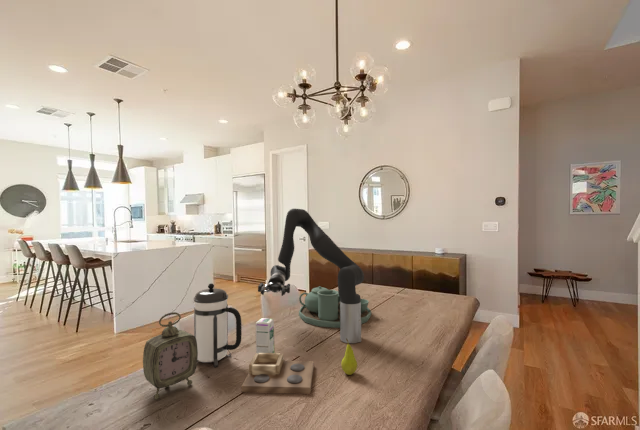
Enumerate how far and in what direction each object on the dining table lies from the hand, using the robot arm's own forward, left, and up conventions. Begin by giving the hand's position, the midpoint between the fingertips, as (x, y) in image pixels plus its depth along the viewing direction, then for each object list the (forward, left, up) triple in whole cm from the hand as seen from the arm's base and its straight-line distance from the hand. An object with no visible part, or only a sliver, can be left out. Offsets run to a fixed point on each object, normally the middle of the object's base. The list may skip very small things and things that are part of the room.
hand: (272, 293), depth 138 cm
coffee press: (+20, +14, -23) cm, 34 cm away
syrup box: (+1, +10, -23) cm, 25 cm away
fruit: (-32, +23, -23) cm, 45 cm away
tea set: (-27, -42, -23) cm, 55 cm away
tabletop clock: (+27, +35, -23) cm, 50 cm away
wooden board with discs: (-8, +27, -23) cm, 36 cm away
